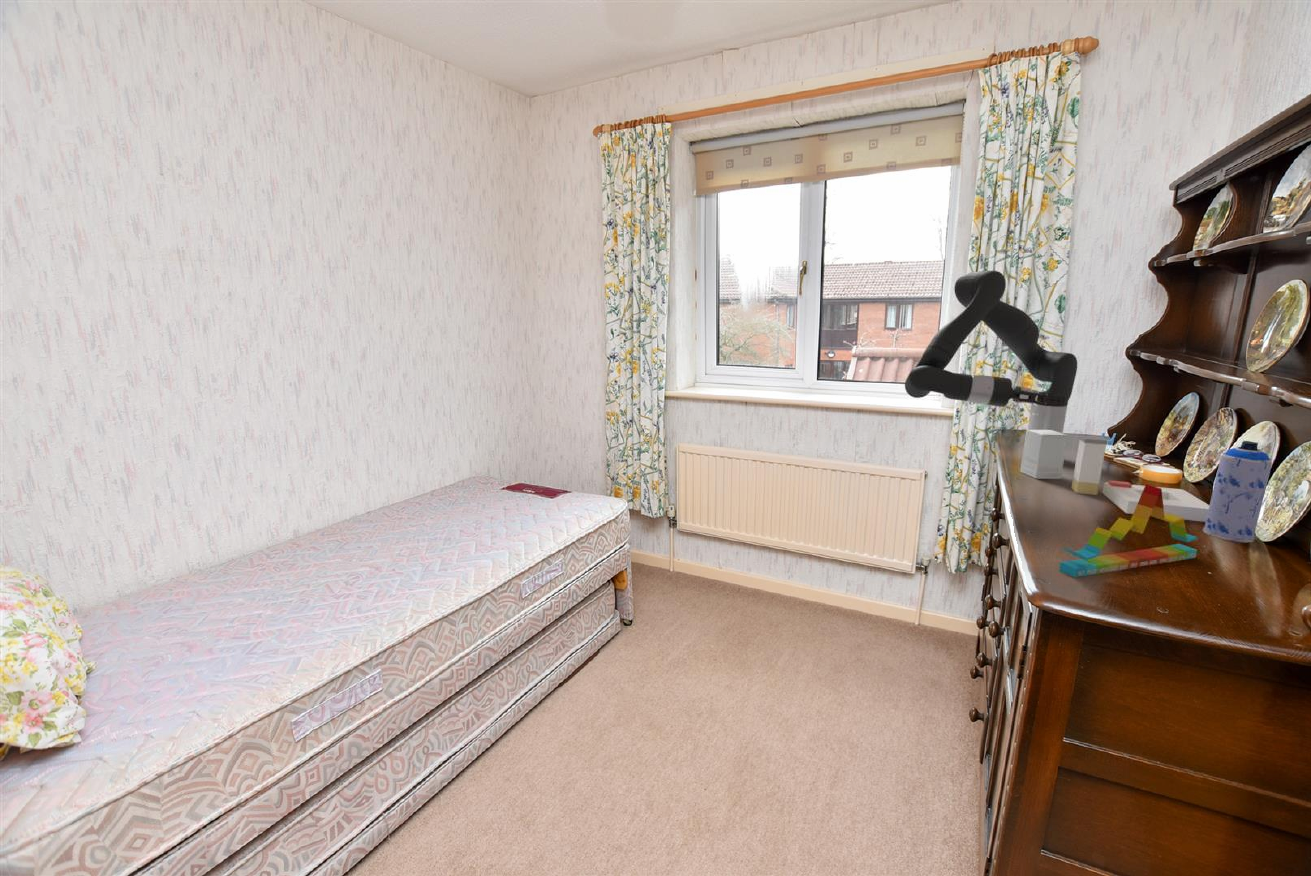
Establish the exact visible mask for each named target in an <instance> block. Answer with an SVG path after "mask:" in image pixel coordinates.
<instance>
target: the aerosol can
mask: <svg viewBox="0 0 1311 876" xmlns="http://www.w3.org/2000/svg"><path fill="white" fill-rule="evenodd" d="M1258 444H1259V443H1258V442H1254V441H1250V440H1243V441H1242V442H1241V445H1240V446H1236V447H1234V448H1230V449H1228V450H1226V452H1225V451H1224V452H1222V453H1221V456H1220V457H1219V458H1220V459H1219V464H1218V468H1217V472H1216V477H1215V480H1214V484H1213V485H1214V486H1213V488H1212V492H1211V497H1210V503H1209V505H1210V506H1209V510H1208V514H1207V519H1206V522H1204V523H1205V524H1204V527H1203V528H1202V532H1203V533H1205V534H1206V535H1209V536H1211V537H1213V538H1218V539H1221V540H1225V541H1230V542H1235V543H1236V542H1237V543H1253V542H1255V537H1254V536H1255V533H1256V529H1257V524H1258V522H1259V518H1260V513H1261V511H1262V510H1261V509H1262V506H1263V502H1264V497H1265V493H1266V490H1267V486H1268V481H1269V477H1270V473H1271V470H1272V465H1273V463H1272V462H1273V460H1272V458H1270V456H1269V455H1268V453H1266V452H1264V451H1262V450H1261V449H1259V448H1258V446H1259V445H1258Z"/></svg>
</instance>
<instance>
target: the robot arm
mask: <svg viewBox="0 0 1311 876" xmlns="http://www.w3.org/2000/svg"><path fill="white" fill-rule="evenodd" d="M1006 285H1007V282H1006V278H1005V275H1004V274H1003V273H1001V272H1000V271H998V270H980V271H970V272H967V273H966V272H965V273H964V274H961V275H960V276H959V277H958V278H957V279H956V281H955V283H954V288H953V289H954V294H955V297H956V299H957V301H958V303H959V304H961V305H962V306H963V307H964V308H965V309H964V310H962V311H961V312H960V313H959V314H958V315H957V316H955V317H954V318H952V319H951V320H950V321H949V322H948V323H945V325H943V326H942V327H941V328H940V329H939V330H938V331H937V333H936V334H935V335H934V336H933V337H932V339H931V341H930V342H929V344H928V345H927V347H926V348H925V350H924V352H923V353H922V356H921V358H920V360H919V361H918V362H917V364H916V365H915V367H914V368H912V369H911V370H910V371H909V374H908V375H907V378H906V379H905V382H904V389H905V392H906V393H907V395H909V396H910V397H912V398H913V399H914V398H915V399H920V398H924V397H926V396H927V395H929V394H930V393H931V392H933V393H938V394H942V395H943V397H945V398H947V399H950V400H954V401H964V402H969V403H973V404H976V405H983V406H985V405H986V406H993V407H1001V408H1004V407H1006V406H1007V405H1008V404H1009V400H1012V401H1013V402H1015V403H1020V404H1023V403H1024V404H1031V405H1030V410H1029V411H1030V412H1029V417H1028V418H1029V419H1028V425H1027V430H1053V431H1056V432H1059V433H1063V434H1064V430H1065V429H1064V428H1065V422H1066V417H1067V416H1066V415H1067V409H1068V405H1069V404H1068V403H1069V400H1070V398H1071V396H1072V393H1073V388H1074V385H1075V379H1076V376H1077V370H1078V360H1077V356H1076V355H1075V354H1073V353H1070V352H1061V351H1048V350H1045V349H1044V348H1043V347H1042V346H1041V345H1040V344H1039V343H1038V341H1039V338H1040V330H1039V327H1038V325H1037V324H1036V322H1035V321H1034V320H1033V319H1032V318H1031V317H1030V316H1029V315H1028V314H1027V313H1026V312H1024V311H1023V310H1022V309H1020V308H1018V307H1016V306H1014V305H1011V304H1009V303H1007V302H1004V301H1002V298H1003V295H1004V293H1005V292H1006ZM981 322H983V323H984V324H985V325H986V326H987V327H988V328H989V329H990V330H991V331H992V332H993V333H994V334H995V335H996V336H997V337H998V338H999V340H1000V341H1001V342H1003V344H1005V346H1006V347H1008V348H1009V349H1010V350H1011V351H1012V352H1013V353H1014V355H1015V356H1016V357H1017V358H1018V359H1019V360H1020V362H1021V363H1022V364H1023V366H1024V367H1025V369H1026V370H1027V372H1029V374H1030V375H1031V376H1032V378H1034V379H1035V380H1038V381H1041V382H1048V383H1050V386H1049V388H1048V389H1046V390H1045V391H1039V390H1037V389H1036V390H1035V389H1032V388H1029V387H1024V386H1018V385H1016V387H1013V382H1012V380H1011V378H1008V377H1007V378H1006V377H999V376H993V375H991V376H990V375H985V374H984V375H983V374H982V375H981V374H978V375H977V374H966V373H956V372H953V371H952V372H951V371H950V370H946V369H945V368H946V367H947V366H948V365H949V364H950V363H951V361H952V360H953V358H954V357H955V355H956V353H957V351H958V350H959V349H960V347H961V345H962V344H963V343H964V341H965V340H966V339H967V337H968V336H969V335H970V334H971V333H972V332H973V330H975V329H976V327H977V326H978V325H979V324H980V323H981Z"/></svg>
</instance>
